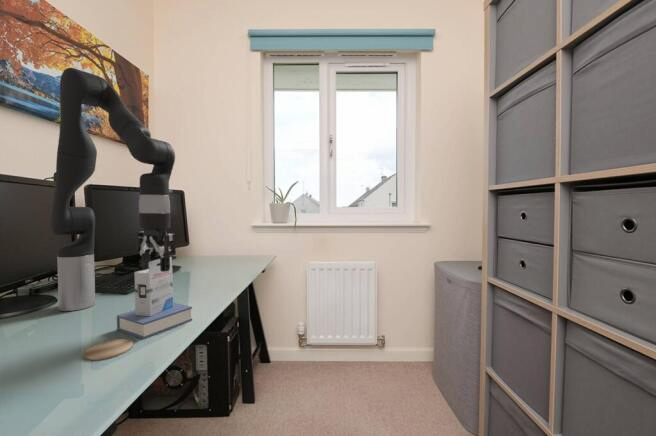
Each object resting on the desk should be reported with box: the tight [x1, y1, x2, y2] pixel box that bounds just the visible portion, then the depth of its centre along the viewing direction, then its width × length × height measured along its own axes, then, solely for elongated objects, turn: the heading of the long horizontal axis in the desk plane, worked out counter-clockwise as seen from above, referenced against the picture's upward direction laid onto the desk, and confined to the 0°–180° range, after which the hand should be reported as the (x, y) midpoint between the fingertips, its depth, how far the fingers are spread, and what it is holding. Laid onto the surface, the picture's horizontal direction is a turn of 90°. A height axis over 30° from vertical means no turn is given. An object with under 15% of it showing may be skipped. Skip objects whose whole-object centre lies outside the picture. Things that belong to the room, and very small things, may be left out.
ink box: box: [134, 256, 174, 316], centre depth 82 cm, size 9×5×15 cm, turn 167°
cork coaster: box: [83, 338, 134, 361], centre depth 67 cm, size 9×9×1 cm
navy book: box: [116, 301, 193, 340], centre depth 82 cm, size 12×14×4 cm
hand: (155, 269), depth 82 cm, fingers open, 8 cm apart
